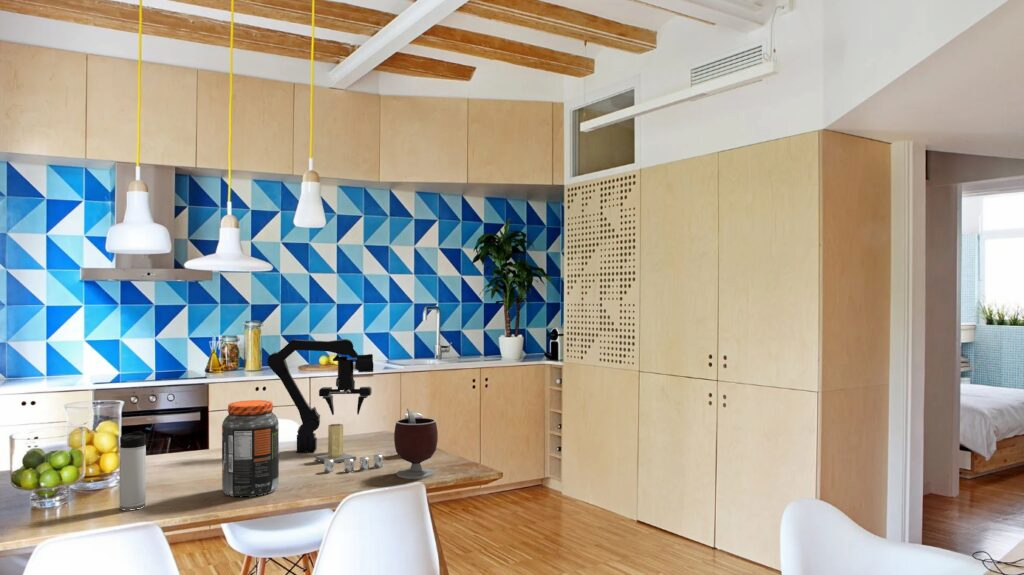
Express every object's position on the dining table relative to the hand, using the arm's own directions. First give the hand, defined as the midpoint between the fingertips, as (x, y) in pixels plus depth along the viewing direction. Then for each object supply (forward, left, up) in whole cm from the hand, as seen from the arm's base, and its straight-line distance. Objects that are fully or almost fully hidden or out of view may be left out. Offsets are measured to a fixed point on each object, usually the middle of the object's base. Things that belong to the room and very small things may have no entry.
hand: (345, 414), depth 276 cm
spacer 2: (+6, -35, -13) cm, 38 cm away
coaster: (-1, -18, -13) cm, 22 cm away
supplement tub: (-19, -58, -13) cm, 62 cm away
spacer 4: (+15, -30, -13) cm, 36 cm away
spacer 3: (+11, -33, -13) cm, 37 cm away
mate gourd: (+28, -40, -13) cm, 51 cm away
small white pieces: (+26, -10, -13) cm, 31 cm away
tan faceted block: (-1, -18, -12) cm, 21 cm away
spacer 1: (0, -36, -13) cm, 38 cm away
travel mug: (-46, -73, -13) cm, 87 cm away
